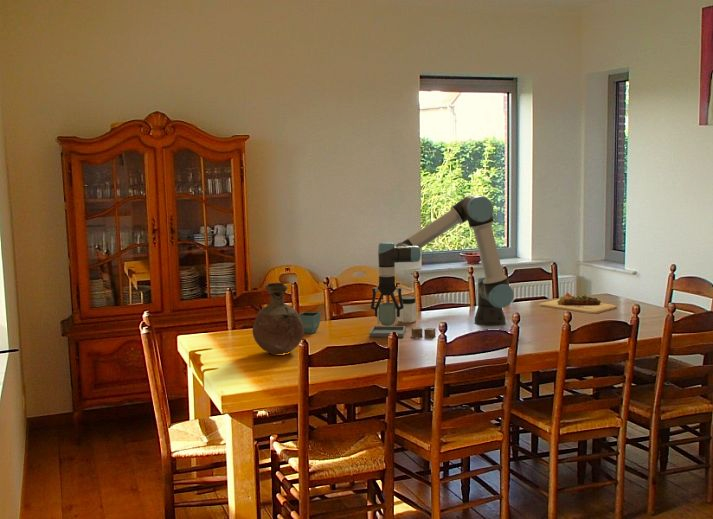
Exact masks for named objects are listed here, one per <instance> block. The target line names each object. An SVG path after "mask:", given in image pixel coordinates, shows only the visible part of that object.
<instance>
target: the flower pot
mask: <svg viewBox="0 0 713 519" xmlns="http://www.w3.org/2000/svg"><path fill="white" fill-rule="evenodd" d="M298 315H299V316H300V318H301V320H302V323H303V334H314V333H316V332H317V331H318V329H319V326H320V323H321V312H314V311H313V312H310V311H309V312H308V311H304V312H301V313H298Z"/></svg>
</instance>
